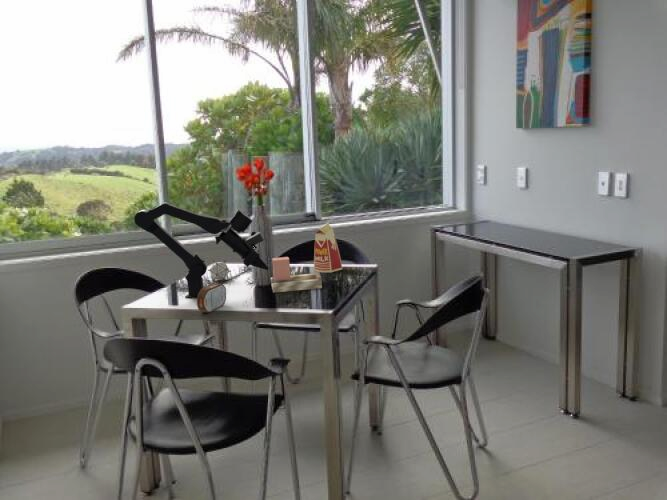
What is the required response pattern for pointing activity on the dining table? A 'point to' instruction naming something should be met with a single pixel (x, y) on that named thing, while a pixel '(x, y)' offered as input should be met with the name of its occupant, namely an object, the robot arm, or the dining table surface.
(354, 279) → the dining table surface
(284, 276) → the coral block
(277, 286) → the wooden tray
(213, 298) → the tin
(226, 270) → the geodesic ball
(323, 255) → the milk carton
